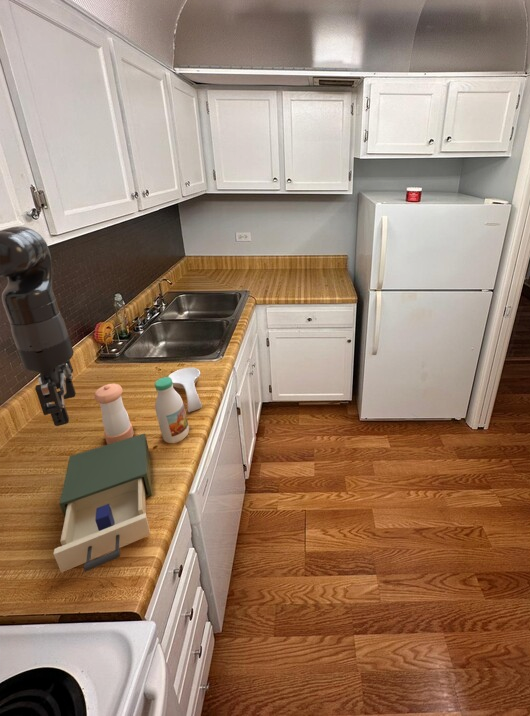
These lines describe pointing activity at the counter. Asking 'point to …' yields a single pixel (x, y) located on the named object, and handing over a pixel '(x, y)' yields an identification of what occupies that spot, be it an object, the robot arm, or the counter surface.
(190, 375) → the white curved piece
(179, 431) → the milk bottle
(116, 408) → the salt shaker
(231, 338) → the counter surface
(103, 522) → the blue block with post
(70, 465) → the cabinet
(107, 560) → the drawer
